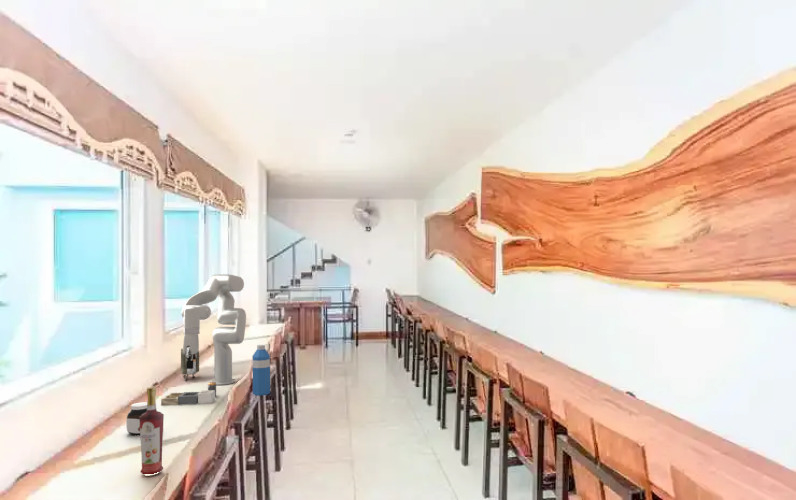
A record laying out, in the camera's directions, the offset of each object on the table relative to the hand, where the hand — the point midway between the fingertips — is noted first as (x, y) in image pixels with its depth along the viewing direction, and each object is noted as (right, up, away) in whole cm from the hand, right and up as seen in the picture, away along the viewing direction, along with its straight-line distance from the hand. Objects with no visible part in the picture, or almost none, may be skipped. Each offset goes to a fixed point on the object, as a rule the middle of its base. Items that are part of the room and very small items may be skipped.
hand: (191, 367), depth 284 cm
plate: (+1, -14, -5) cm, 15 cm away
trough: (-7, -16, -4) cm, 18 cm away
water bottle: (+32, -16, +11) cm, 38 cm away
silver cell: (0, -3, 0) cm, 3 cm away
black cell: (+9, -16, +5) cm, 19 cm away
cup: (+9, -16, -6) cm, 19 cm away
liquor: (+23, -15, -98) cm, 102 cm away
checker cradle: (+1, -16, -5) cm, 17 cm away
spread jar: (-1, -16, -52) cm, 54 cm away
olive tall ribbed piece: (-19, -17, +49) cm, 56 cm away
